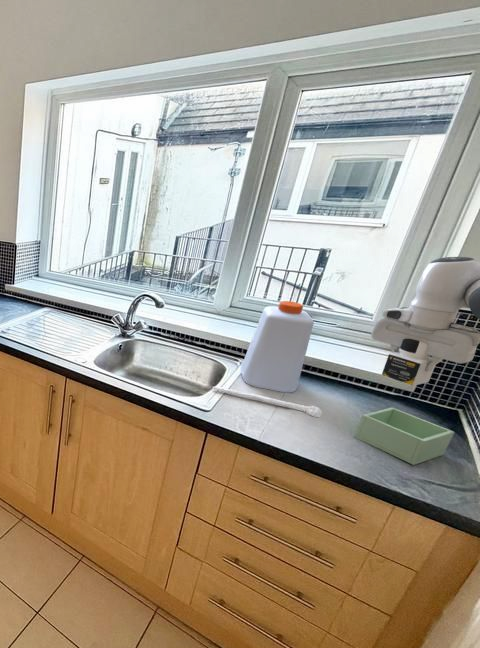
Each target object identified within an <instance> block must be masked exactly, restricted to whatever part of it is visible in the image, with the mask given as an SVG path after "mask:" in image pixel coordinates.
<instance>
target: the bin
mask: <svg viewBox="0 0 480 648" xmlns="http://www.w3.org/2000/svg"><path fill="white" fill-rule="evenodd" d="M354 433H355V434H354V438H356V439H357V440H360V441H362V442H364V443H366V444H368V445H371V447H375V448H377V449H379V450H381V451H383V452H385V453H387V454H390V455H391V456H394V457H396V458H398V459H400V460H402V461H404V462H406V463H409V464H410V465H412V466H415V465H418V464H420V463H423V462H426V461H430V460H432V459H435V458H436V459H437V458H438V457H441V456H444V455H445V453H446V450H447V448H448V446H449V444H450V442H451V441H452V438H453V436H454V435H455V431H453V430H450V429H449V428H445V427H443V426H441V425H438V424H436V423H433V422H431V421H428V420H425V419H423V418H420V417H418V416H415V415H413V414H411V413H408V412H405V411H403V410H400V409H398V408H395V407H388V408H385V409H380V410H377V411H373V412H369V413H365V414H362V415H361V418H360V421H359V423H358V426H357V428H356V431H355V432H354Z"/></svg>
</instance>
